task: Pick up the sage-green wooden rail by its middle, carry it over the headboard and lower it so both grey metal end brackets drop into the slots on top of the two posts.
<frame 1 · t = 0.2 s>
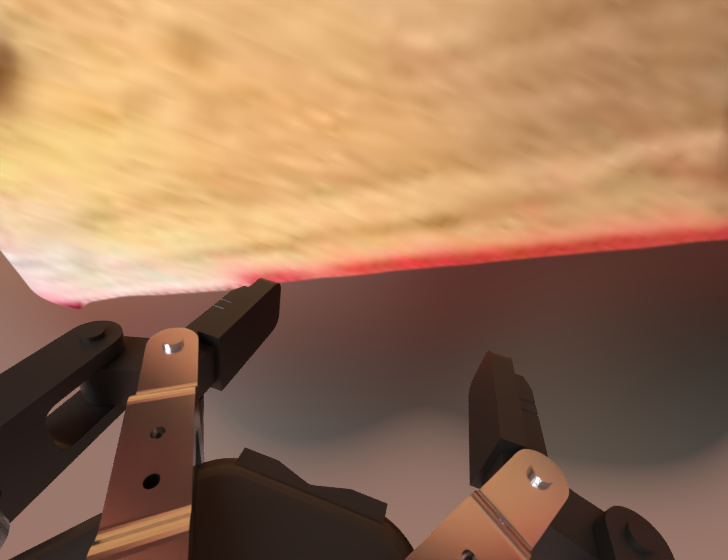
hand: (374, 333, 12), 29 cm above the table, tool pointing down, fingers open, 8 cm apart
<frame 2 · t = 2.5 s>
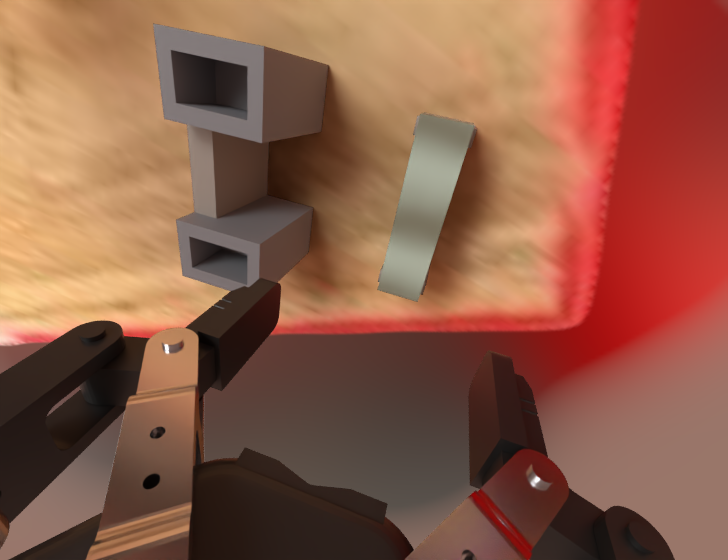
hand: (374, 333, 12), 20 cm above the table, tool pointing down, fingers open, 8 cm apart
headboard: (282, 163, 31), on the table
rail: (426, 200, 29), on the table
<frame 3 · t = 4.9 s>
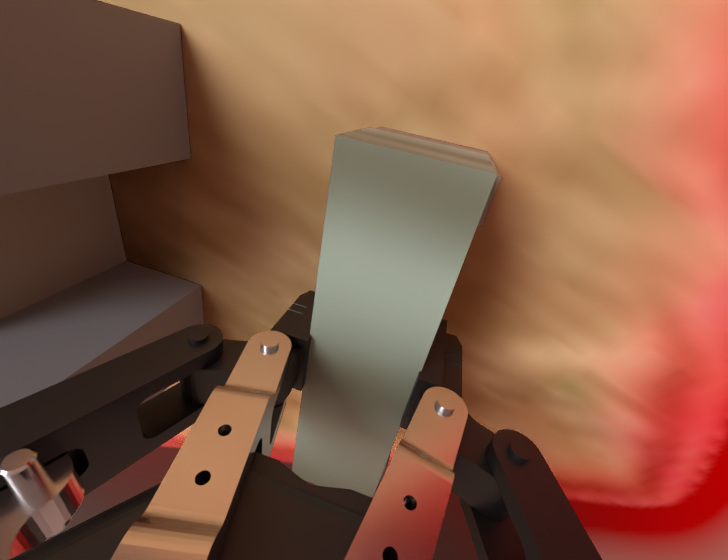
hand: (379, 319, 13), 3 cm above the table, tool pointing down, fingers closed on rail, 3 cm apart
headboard: (138, 211, 17), on the table
rail: (392, 287, 15), on the table, touching gripper
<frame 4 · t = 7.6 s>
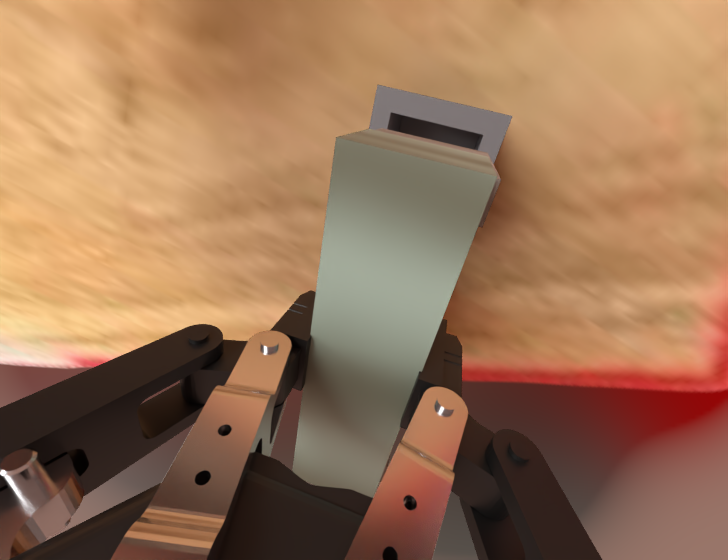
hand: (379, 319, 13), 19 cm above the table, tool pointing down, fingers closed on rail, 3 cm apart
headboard: (419, 209, 29), on the table
rail: (393, 288, 15), point 16 cm above the table, touching gripper
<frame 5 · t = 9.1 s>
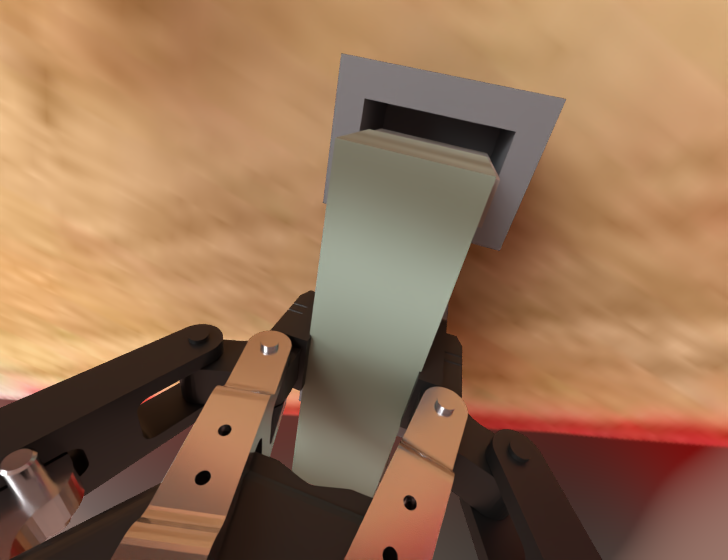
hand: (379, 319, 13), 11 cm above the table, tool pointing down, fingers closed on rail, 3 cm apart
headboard: (416, 227, 23), on the table
rail: (392, 288, 15), point 9 cm above the table, touching gripper
when the fingers open (11 cm above the table, at t = 10.3 s): rail stays where it is, resting on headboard.
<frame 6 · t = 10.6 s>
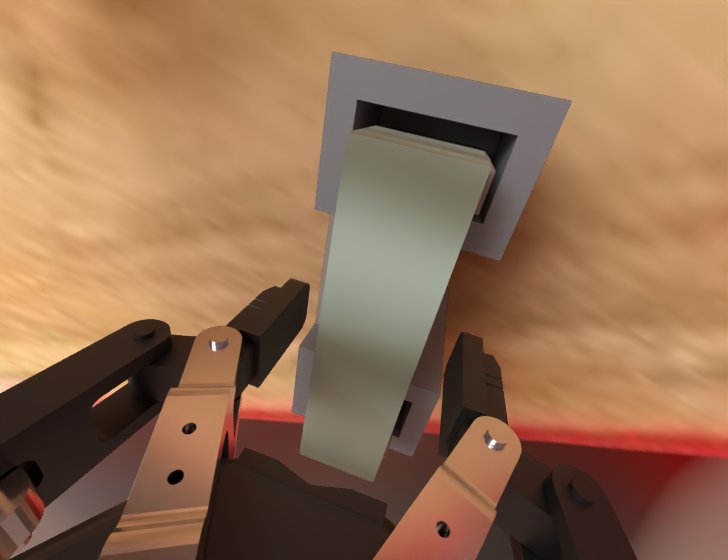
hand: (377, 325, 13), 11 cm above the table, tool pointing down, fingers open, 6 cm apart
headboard: (414, 231, 22), on the table
rail: (395, 278, 16), point 7 cm above the table, touching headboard
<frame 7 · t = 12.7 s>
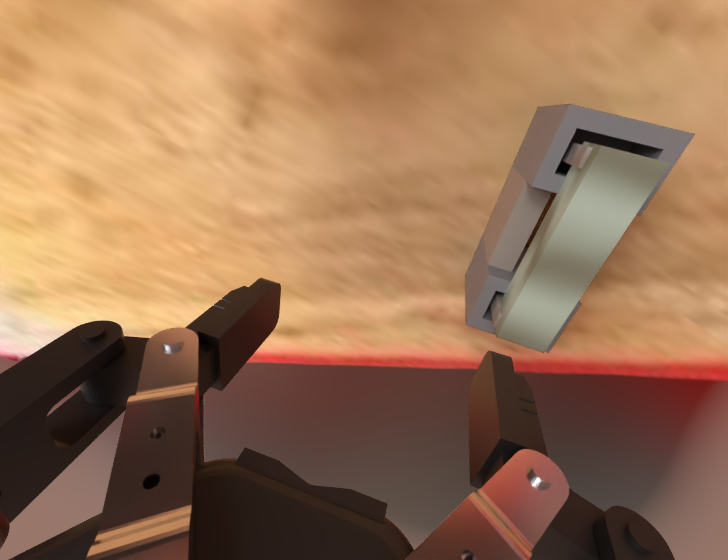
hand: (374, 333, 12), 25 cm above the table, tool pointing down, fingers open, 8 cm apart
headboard: (532, 212, 32), on the table
rail: (547, 234, 26), point 7 cm above the table, touching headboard
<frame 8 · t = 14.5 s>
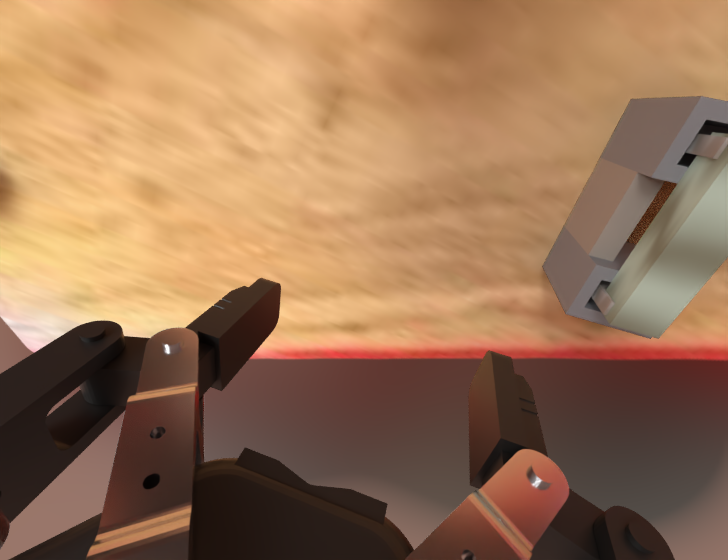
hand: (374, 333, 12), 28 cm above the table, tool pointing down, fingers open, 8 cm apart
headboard: (617, 202, 33), on the table
rail: (651, 224, 27), point 7 cm above the table, touching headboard
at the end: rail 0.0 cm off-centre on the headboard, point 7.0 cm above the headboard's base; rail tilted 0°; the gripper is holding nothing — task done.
